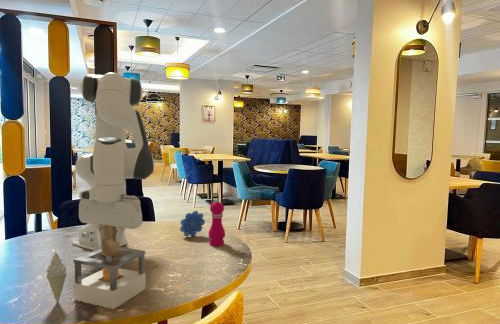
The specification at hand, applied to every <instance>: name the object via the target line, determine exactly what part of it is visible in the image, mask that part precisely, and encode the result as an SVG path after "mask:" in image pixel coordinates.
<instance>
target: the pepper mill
mask: <svg viewBox="0 0 500 324" xmlns="http://www.w3.org/2000/svg"><path fill="white" fill-rule="evenodd" d="M214 201H215V202H211V205H210V206H209V210H210V212H211V213H210V215H211V216H210V217H211V221H212V222H211V226H210V227H209V231H208V238H209V246H211V247H221V246H224V244H225V240H224V239H225V237H226V230H225V228H224V225H223V222H222V221H223V220H222V219H223V217H224V216H223V215H224V210H225V206H224V204H223V203H222V202H220V199H219V198H215V200H214Z"/></svg>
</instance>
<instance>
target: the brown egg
mask: <svg viewBox="0 0 500 324" xmlns="http://www.w3.org/2000/svg"><path fill="white" fill-rule="evenodd" d="M119 268H120V267H118V268H116V275H117V280H118V279H119ZM102 270H103V281H105V282H110V269H105V268H102Z"/></svg>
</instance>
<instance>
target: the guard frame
mask: <svg viewBox="0 0 500 324" xmlns="http://www.w3.org/2000/svg"><path fill="white" fill-rule="evenodd" d="M119 254H120V255H121V254H123V255H124V256H122V257H120V258H119V259H116V260H113V256H105V260H102V259H96V258H98V257H100V256H103V255H102V248H100V249H98V250H92V251H91V252H88V253H86V254H83V255H81V256H78V257H76V258H73V259H72V260H73V264H74V283H77V284H79V283H81V282H82V279H83V278H82V265H83V266H89V267H95V268H101V269H103V268H105V269H110V290H111V291H115V290H116V289H117V275H116V268H118V267H119V268H120V267H122V266H124V265H126V264H128V263H130V262H132V261H134V260H136V259H138V272H139V274H144V273H145V255H146V250H142V249H138V248H137V249H136V248H130V247H123V246H120V253H119ZM112 260H113V261H112Z"/></svg>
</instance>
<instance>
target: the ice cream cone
mask: <svg viewBox="0 0 500 324" xmlns="http://www.w3.org/2000/svg"><path fill="white" fill-rule="evenodd" d="M45 272H46V278H47V280H48V283H49V286H50V288H51V291H52V294H53V297H54V300H55V302H59V303H60V300H61V297H62V296H61V295H62V292H63V289H64V284H65V281H66V278H67V274H68V273H67V267H66V265H65V264H64V263H63V262H62V259H61V258H60V256H59V255H58V252H57V250H55V252H54V254H53V257H52V259H51V261H50V264H49V265H48V266H47V269H46V271H45Z"/></svg>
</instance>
